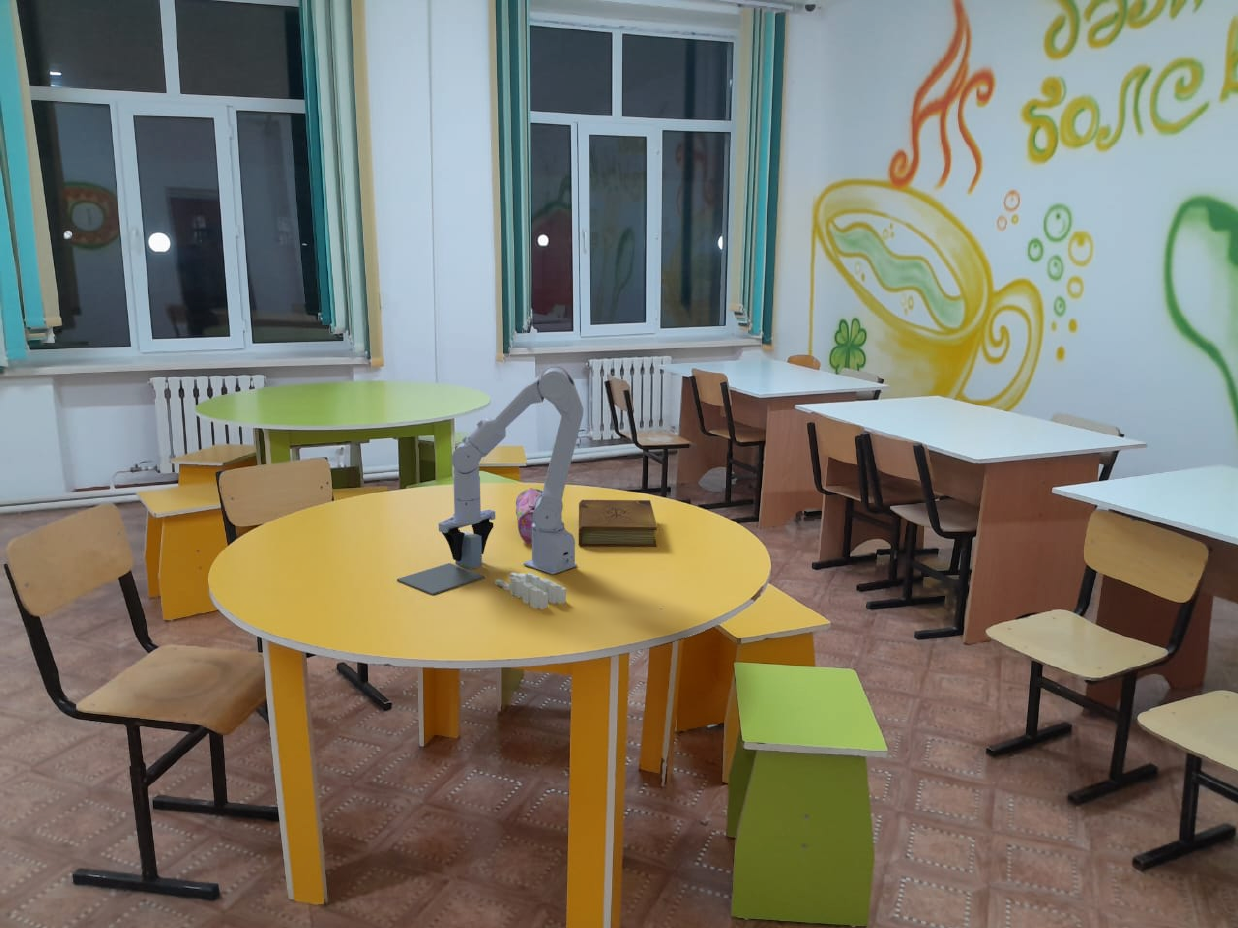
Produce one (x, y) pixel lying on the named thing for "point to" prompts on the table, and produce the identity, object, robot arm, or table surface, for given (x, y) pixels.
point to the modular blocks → (534, 590)
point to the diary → (616, 523)
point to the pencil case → (526, 512)
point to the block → (471, 551)
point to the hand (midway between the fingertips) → (468, 556)
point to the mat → (440, 578)
